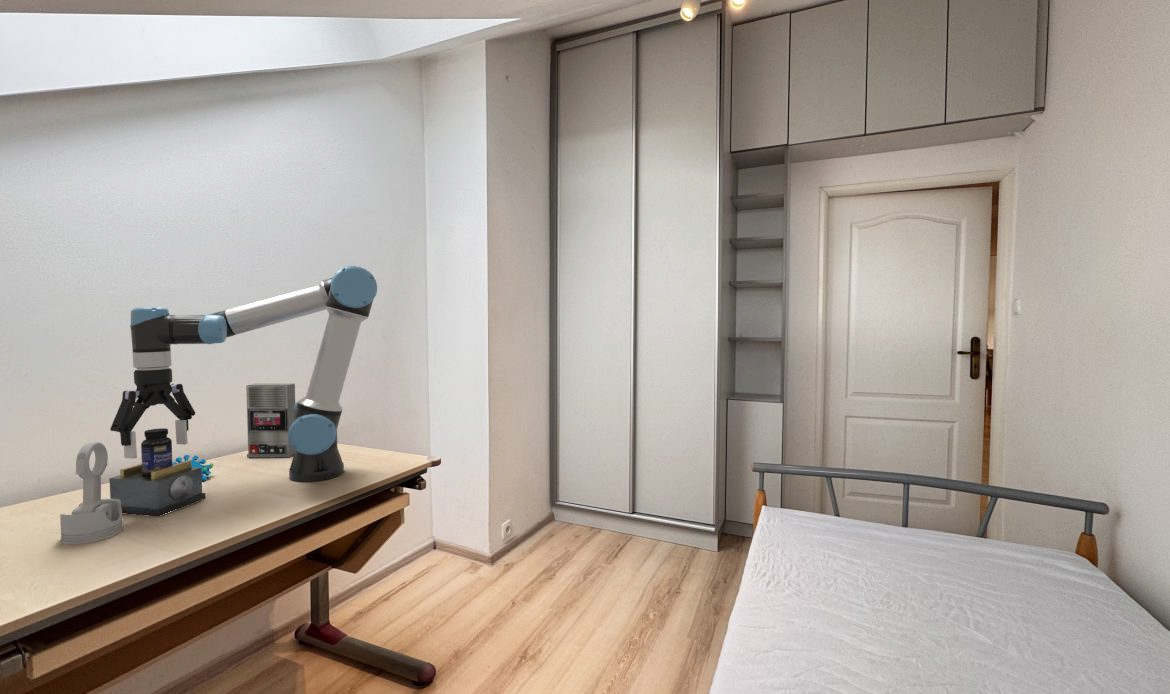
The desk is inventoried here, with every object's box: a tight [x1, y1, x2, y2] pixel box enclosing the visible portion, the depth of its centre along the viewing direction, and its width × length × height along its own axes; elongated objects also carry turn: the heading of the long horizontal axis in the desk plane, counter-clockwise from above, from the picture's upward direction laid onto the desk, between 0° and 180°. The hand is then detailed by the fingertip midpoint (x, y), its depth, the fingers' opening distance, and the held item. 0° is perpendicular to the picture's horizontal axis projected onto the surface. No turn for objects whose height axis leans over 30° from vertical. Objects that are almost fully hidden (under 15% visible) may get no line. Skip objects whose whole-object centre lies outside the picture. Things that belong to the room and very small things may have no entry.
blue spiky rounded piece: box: [172, 454, 215, 482], centre depth 155 cm, size 11×6×10 cm
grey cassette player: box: [245, 382, 296, 458], centre depth 182 cm, size 14×6×25 cm, turn 95°
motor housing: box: [108, 460, 207, 517], centre depth 135 cm, size 15×13×10 cm
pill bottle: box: [140, 427, 173, 475], centre depth 134 cm, size 6×6×11 cm
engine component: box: [59, 442, 124, 545], centre depth 117 cm, size 11×20×10 cm
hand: (157, 450), depth 134 cm, fingers open, 13 cm apart
